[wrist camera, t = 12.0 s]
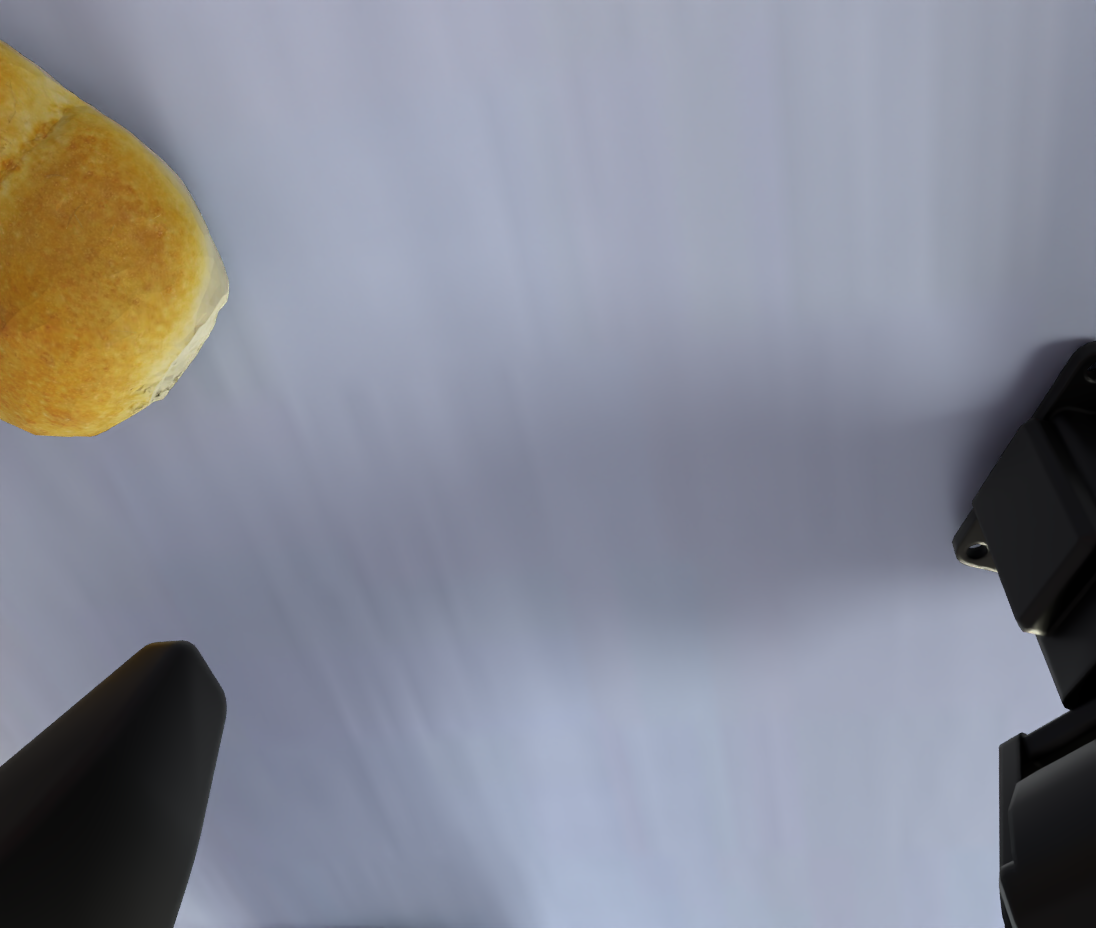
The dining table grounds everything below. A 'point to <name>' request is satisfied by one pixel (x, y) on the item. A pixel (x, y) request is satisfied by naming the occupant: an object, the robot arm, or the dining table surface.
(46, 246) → the bread roll
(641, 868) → the dining table surface
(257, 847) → the dining table surface
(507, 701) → the dining table surface
